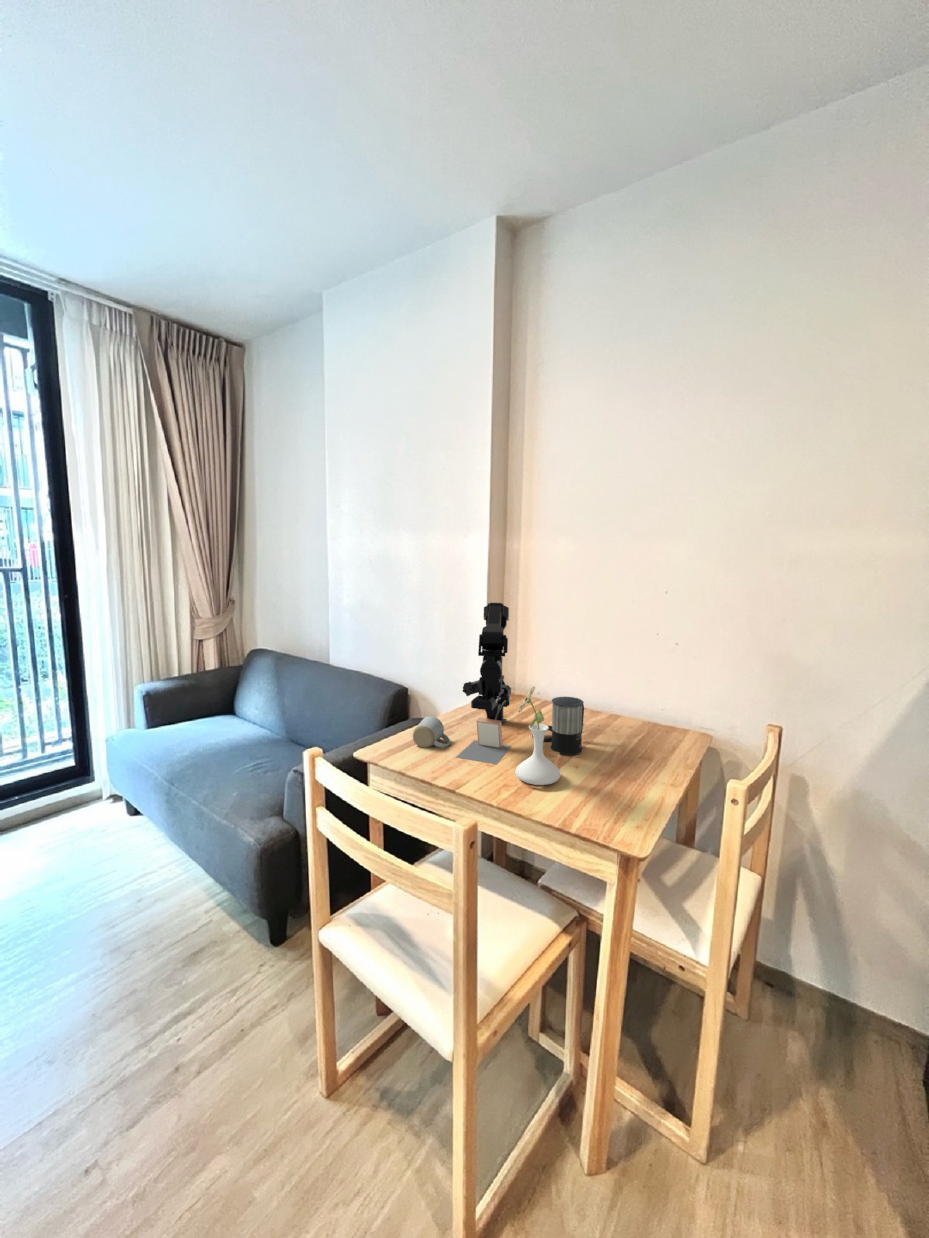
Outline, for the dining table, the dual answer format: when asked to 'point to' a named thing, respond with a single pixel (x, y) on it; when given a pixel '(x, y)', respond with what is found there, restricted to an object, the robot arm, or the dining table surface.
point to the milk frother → (566, 725)
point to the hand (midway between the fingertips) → (491, 724)
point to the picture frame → (489, 732)
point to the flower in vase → (537, 753)
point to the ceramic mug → (430, 733)
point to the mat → (483, 753)
